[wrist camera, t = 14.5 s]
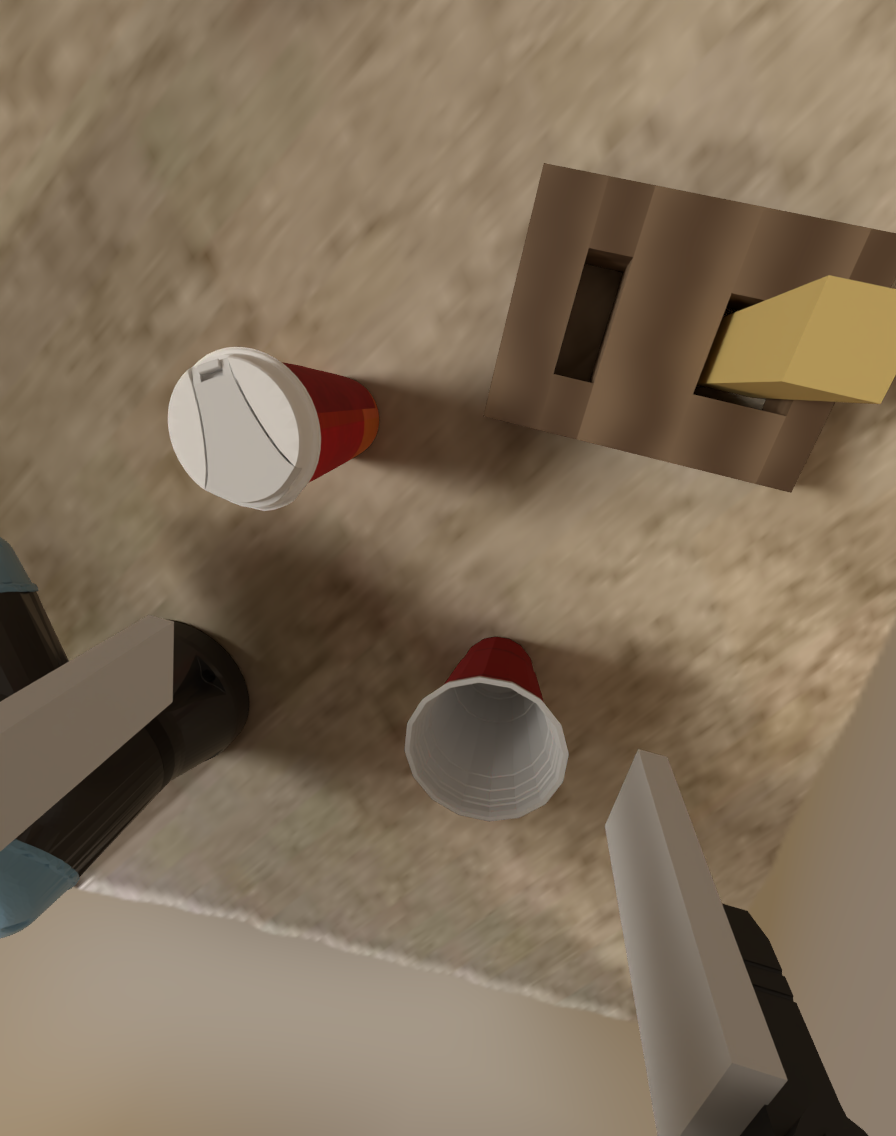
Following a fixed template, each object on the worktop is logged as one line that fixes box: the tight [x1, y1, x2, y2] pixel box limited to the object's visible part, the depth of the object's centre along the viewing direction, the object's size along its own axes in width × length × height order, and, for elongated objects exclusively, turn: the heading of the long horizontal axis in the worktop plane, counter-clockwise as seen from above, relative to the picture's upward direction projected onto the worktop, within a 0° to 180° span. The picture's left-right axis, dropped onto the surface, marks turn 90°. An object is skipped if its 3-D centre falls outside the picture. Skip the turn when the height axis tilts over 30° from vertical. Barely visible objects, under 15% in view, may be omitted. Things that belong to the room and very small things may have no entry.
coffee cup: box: [168, 347, 379, 511], centre depth 32 cm, size 8×8×15 cm
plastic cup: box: [404, 637, 569, 821], centre depth 38 cm, size 11×11×12 cm
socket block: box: [483, 163, 896, 492], centre depth 32 cm, size 20×14×4 cm
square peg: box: [697, 275, 896, 404], centre depth 27 cm, size 4×4×14 cm
